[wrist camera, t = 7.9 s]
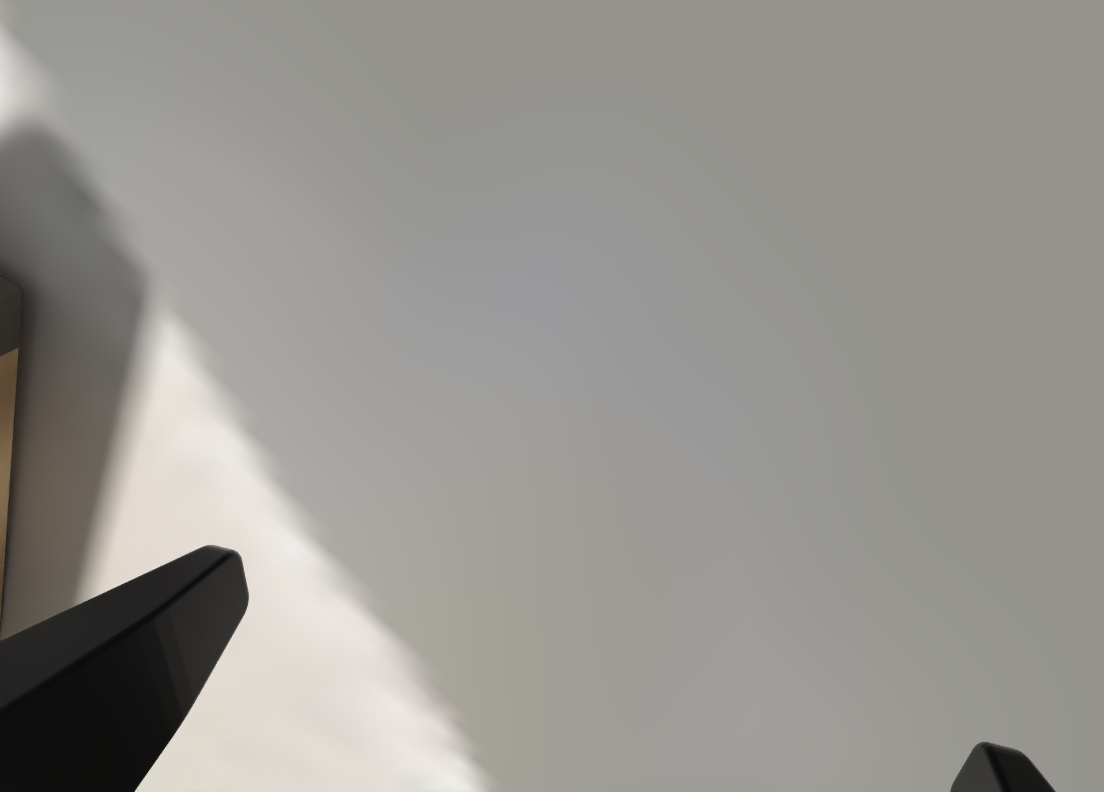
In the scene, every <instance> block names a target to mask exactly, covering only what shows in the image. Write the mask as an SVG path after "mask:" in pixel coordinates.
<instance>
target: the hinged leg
mask: <svg viewBox="0 0 1104 792" xmlns="http://www.w3.org/2000/svg"><path fill="white" fill-rule="evenodd" d="M22 290H23V289H21V288H19V287H18V286H16V285H14V284H13V283H11V282H9V281H8V280H6V279H4V278H2V277H1V276H0V620H1V605H2V590H3V575H4V560H5V545H6V530H7V515H8V500H9V485H10V470H11V455H12V440H13V425H14V410H15V395H16V380H17V365H18V350H19V335H20V320H21V305H22Z"/></svg>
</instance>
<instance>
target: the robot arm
mask: <svg viewBox="0 0 1104 792" xmlns="http://www.w3.org/2000/svg"><path fill="white" fill-rule="evenodd" d="M248 600H249V593H248V588H247V583H246V578H245V573H244V568H243V563H242V559H241V556H240V555H239V554H238V552H236V551H234V550H231V549H227V548H223V547H219V546H215V545H207V546H204V547H201V548H199V549H197V550H195V551H192V552H190V553H188V554H186V555H184V556H182V557H180V558H177V559H175V560H173V561H171V562H169V563H167V564H165V565H162V566H160V567H158V568H156V569H154V570H152V571H150V572H147V573H145V574H143V575H141V576H139V577H137V578H135V579H133V580H130V581H128V582H126V583H124V584H122V585H120V586H118V587H115V588H113V589H111V590H109V591H107V592H105V593H103V594H100V595H98V596H96V597H94V598H92V599H90V600H88V601H85V602H83V603H81V604H79V605H77V606H75V607H73V608H71V609H68V610H66V611H64V612H62V613H60V614H58V615H56V616H53V617H51V618H49V619H47V620H45V621H43V622H41V623H38V624H36V625H34V626H32V627H30V628H28V629H26V630H23V631H21V632H19V633H17V634H15V635H13V636H11V637H8V638H6V639H4V640H2V641H0V792H135V790H136V789H137V787H138V786H139V784H140V783H141V781H142V780H143V779H144V777H145V776H146V774H147V773H148V771H149V770H150V769H151V767H152V766H153V764H154V763H155V761H156V760H157V759H158V757H159V756H160V754H161V753H162V751H163V750H164V749H165V747H166V746H167V744H168V743H169V741H170V740H171V739H172V737H173V736H174V734H175V733H176V731H177V730H178V728H179V727H180V725H181V724H182V722H183V721H184V719H185V718H186V716H187V714H188V713H189V711H190V709H191V708H192V706H193V704H194V703H195V701H196V699H197V697H198V696H199V694H200V692H201V690H202V689H203V687H204V685H205V683H206V681H207V680H208V678H209V676H210V674H211V673H212V671H213V669H214V667H215V666H216V664H217V662H218V660H219V658H220V657H221V655H222V653H223V651H224V650H225V648H226V646H227V644H228V643H229V641H230V639H231V637H232V635H233V634H234V632H235V630H236V628H237V627H238V625H239V623H240V621H241V620H242V618H243V616H244V614H245V612H246V609H247V606H248ZM950 792H1055V790H1054V789H1053V788H1052V787H1051V785H1050V784H1049V783H1048V781H1047V780H1046V779H1045V778H1044V777H1043V775H1042V774H1041V773H1040V772H1039V770H1038V769H1037V768H1036V767H1035V765H1034V764H1033V763H1032V762H1031V760H1030V759H1029V758H1028V757H1027V756H1025V755H1024V754H1023V753H1022V752H1020V751H1018V750H1015V749H1012V748H1008V747H1004V746H1000V745H996V744H993V743H989V742H981V743H979V744H977V745H976V746H975V747H974V748H973V750H972V752H971V753H970V755H969V757H968V758H967V760H966V762H965V764H964V765H963V767H962V769H961V770H960V772H959V774H958V776H957V777H956V779H955V781H954V782H953V785H952V787H951V791H950Z"/></svg>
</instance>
